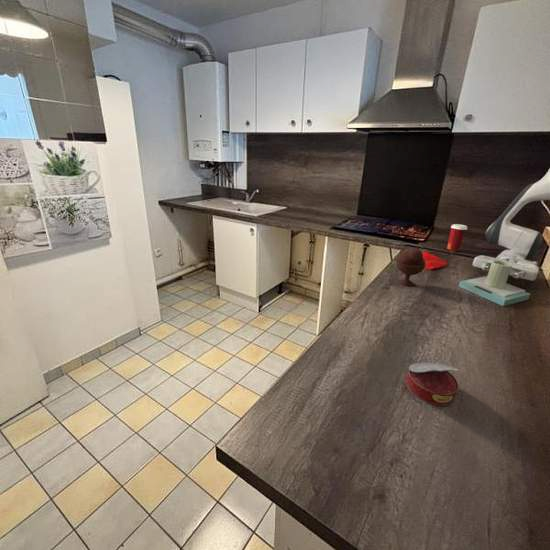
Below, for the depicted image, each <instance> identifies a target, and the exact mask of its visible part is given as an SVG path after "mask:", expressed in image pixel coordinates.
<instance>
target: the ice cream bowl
mask: <svg viewBox="0 0 550 550" xmlns="http://www.w3.org/2000/svg"><path fill="white" fill-rule="evenodd" d="M395 265H396V268H397V269H398V270H399V271H400V272H401V273H402V274H404V278H402V279H399V281H398V284H399V285H400V286H404V287H413V286H414V282H413V281H411V280H410V277H411V276H414V275H418V274H420V273H422V272H423V271H424V270H425V265H426V263H425V261H424V258H423V252H422V251H421V249H419V248H411V249H410V250H406V251H402V252H401V253H400V254H399V255H398V257H397V258H396V259H395Z"/></svg>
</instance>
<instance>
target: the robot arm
mask: <svg viewBox="0 0 550 550" xmlns="http://www.w3.org/2000/svg"><path fill="white" fill-rule="evenodd" d="M537 201H539V202H540V201H550V168H549V169H548V171H546V174H545V175H543V176H542V178H541V179H539V180H538V181H536V182H534V183H530V184H528V185H527V186H525V187H524V188H523V189H522V190H521V191H520V192H519V194H518V195H517V196H516V197H515V198H514V199H513V200H512V202H510V204H509V205H508V206H507V208H506V209H505V210H504V211H503V212H502V214H500V215H499V217H498V218H497V219H496V220H495V221H494V222H493V223H491V224H490V226H488V228H487V230H486V231H485V234H484V236H485V238H486V240H487V242H488V243H489V244H492V245H495V246H500V247H504V248H506V249H504V250H502V251H501V252H500V253H499V254H498V255H497V256H496V257H492V256H488V255H482V254H481V255H477V256H475V257H474V259H473V260H472V261H473V262H472V266H473V267H475V268H479V269H482V271H484V272H485V271H489V269H490V267H491V264H492V261H494V260H498V261H504V262H508V263H510V264H512V265H513V266H512V268H511V271H510V274H509V276H510V277H512V278H513V279H523V280H528V281H532V282H533V281H536V280H537V277H538V274H539V266H538V262H537V261H534V260H532V259H531V258H533V257H534V255H535V254H536V253H537V252H538V250H539V248H540V247H541V245H542V243H543V241H544V239H543V236H542V234H541V232H540V231H537V230H535V229H531V228H529V227H525V226H521V225H519V224H518V225H517V224H516V223H515V224H514V223H512V222H511V221H512V220H513V218H514V217H515V216H516V215H517V214H518V212H519V211H520V210H522V208H523V207H524V206H526V205H527V204H528V203H531V202H537Z"/></svg>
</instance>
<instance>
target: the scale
mask: <svg viewBox="0 0 550 550" xmlns="http://www.w3.org/2000/svg"><path fill="white" fill-rule="evenodd" d="M486 278H487V275H486V276H485V275H483V276H480V277H474V278H470V279H465V280H459V281H460V282H459V285H458V287H459V288H460V289H463V290H465V291H467V292H469V293H473V294H474V295H477V296H479V297H481V298H483V299H485V300H489V301H490V302H492V303H495V304H497V305H499V306H502V307H505V306H510V305H513V304H517V303H520V302H524V301H528V300H529V299H530V297H531V293H530V292H527V291H526V290H525V289H523V288H520V287H518V286H515V285H512V284H510V283H507V282H506V284H505V286H504V288H502V289H498V288H493V287H490V286H488V285H486V284H485V281H486Z"/></svg>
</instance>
